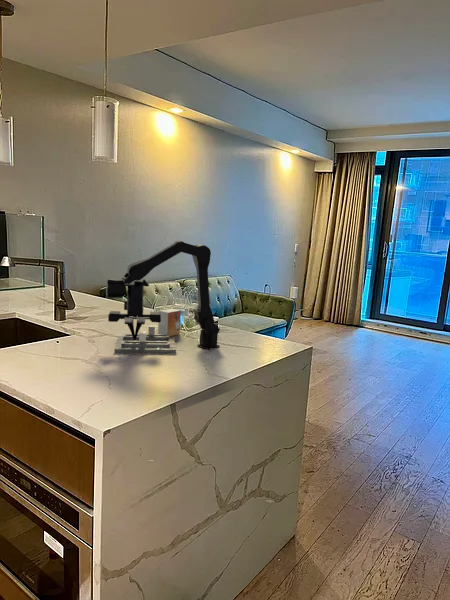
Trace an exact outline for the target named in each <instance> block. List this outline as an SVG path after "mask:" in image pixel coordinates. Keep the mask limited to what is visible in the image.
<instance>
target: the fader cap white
mask: <svg viewBox="0 0 450 600" xmlns="http://www.w3.org/2000/svg"><path fill="white" fill-rule="evenodd" d="M138 334H139V341H140V343H145V342H146V334H147V331H146V330H139V332H138Z"/></svg>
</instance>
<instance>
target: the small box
mask: <svg viewBox="0 0 450 600" xmlns="http://www.w3.org/2000/svg"><path fill="white" fill-rule="evenodd" d="M181 311H182V310H180V309H175V308H167V309H163V310H158V312H160V313H161V322H157V325H158V327H157V334H163V335H169V337H174V336H177V335H181V313H182V312H181Z"/></svg>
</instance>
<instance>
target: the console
mask: <svg viewBox="0 0 450 600" xmlns="http://www.w3.org/2000/svg"><path fill="white" fill-rule="evenodd" d="M113 352H114V354H139V355H140V354H148V355H149V354H150V355H151V354H152V355H153V354H154V355H155V354H157V355H158V354H159V355H161V354H162V355H171V354H172V355H176V354H177V348H176V341H175V336H169V335H163V334H158V333H157V334H155V335H154V336H149V334H148V333H146V342H145V343H140V341H139V333H138V334H137V337H136V340H134V339H133V336H132V333H123V335H118V336H117V339H116V343H115V347H114V351H113Z"/></svg>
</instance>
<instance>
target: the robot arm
mask: <svg viewBox="0 0 450 600" xmlns="http://www.w3.org/2000/svg"><path fill="white" fill-rule="evenodd" d="M180 253H183V254H187V255H191V257H192V260H193V262H194V266H195V269H196V283H197V285H196V287H197V301H198V305H197V308H193V313H194V317H193V320H195V322H196V324H197V325H198V326H199V327H200V334H199V343H198V344H197V347H200V348H204V349H206V350H212V349H217V348H220V346H221V345H219V344H218V339H219V338H218V334H219V332H220V330H221V328H220V327H219V326H218V325H217V324H216V323H215V317H214V313H213V311H212V308H211V304H210V287H209V266H210V263H211V255H212V254H211V249H210V247H209V246H206V244H205V245H204V244H202V243H200V244H195V245H193V244H192V243H191V244H190V243H187V242H184V241H181V240H176V241H175V242H174V243H172V244H170V245H168V246H167V247H165V248H163V249H162V250H160V251H158V252H156V253H154V254H153V255H151V256H150V257H147V258H145V259H141V260H137V261H134V262H132V263H130V264H129V265H127V269H126V273H125V274H124V275H123V277H122V278H121V279H112V278H107V279H106V287H105V294H106V297H105V298H106V299H123V297H125V296H126V295H127V301H124V302H123V303H124V304H123V310H124V311H127V312H126V313H121V311H120V310H112V311H110V312H109V313H108V319H107V322H109V323H110V322H111V323H114V322H115V323H117V322H118V321H120V320H124V324H125V325H127V326H128V329H129V331H130V334H132V336H133V339H134V340H136V337H137V334H139V332H140V329H141V328H142V326H143V325H146V320H149V321H150V322H151V323H158V322H161V313H160V312H159V311H150V312H149V313H148V314H147V313H144V287H149V286H150V284H149V283H148V282H147V280H145V277H146V276H147V275H149V274H150V272H152V270H154V268H157V267H158V266H160V265H161V264H163V263H164V262H167V261H169V259H171V258H173V257H175V256H177V255H179V254H180ZM134 320H136V327H135V325H134Z"/></svg>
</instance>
